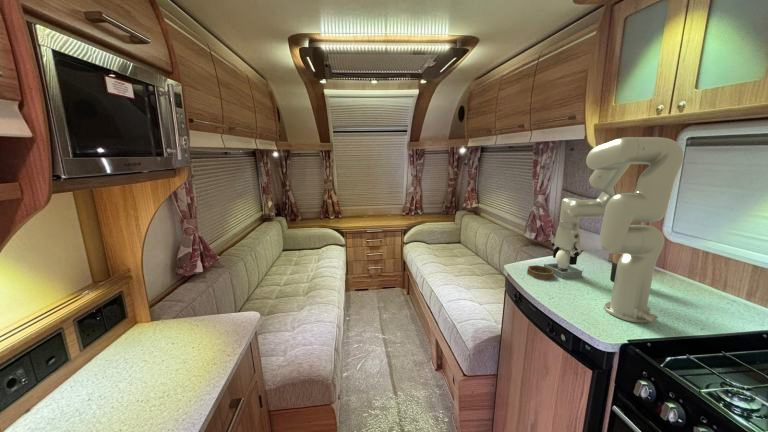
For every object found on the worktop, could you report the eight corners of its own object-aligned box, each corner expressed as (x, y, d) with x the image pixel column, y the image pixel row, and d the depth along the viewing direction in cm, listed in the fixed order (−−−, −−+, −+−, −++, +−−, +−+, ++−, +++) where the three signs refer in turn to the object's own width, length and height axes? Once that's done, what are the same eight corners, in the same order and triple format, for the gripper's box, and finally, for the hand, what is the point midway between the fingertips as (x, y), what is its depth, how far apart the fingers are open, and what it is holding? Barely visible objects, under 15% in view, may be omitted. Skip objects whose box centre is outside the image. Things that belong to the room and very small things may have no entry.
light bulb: (574, 272, 137) (576, 250, 135) (564, 275, 134) (567, 252, 132) (560, 267, 143) (562, 246, 141) (550, 270, 140) (553, 248, 138)
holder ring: (558, 278, 133) (559, 273, 132) (538, 280, 130) (539, 274, 130) (541, 269, 143) (542, 264, 142) (522, 271, 140) (523, 266, 140)
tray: (581, 276, 135) (582, 270, 134) (561, 278, 133) (562, 272, 132) (562, 267, 145) (563, 262, 145) (543, 269, 143) (544, 264, 143)
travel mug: (636, 285, 125) (644, 240, 121) (617, 285, 126) (625, 240, 121) (622, 278, 133) (629, 235, 129) (605, 278, 133) (612, 235, 129)
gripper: (592, 229, 127) (587, 266, 130) (560, 221, 143) (556, 254, 146) (577, 229, 125) (572, 268, 128) (547, 221, 142) (543, 255, 145)
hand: (564, 260), depth 137 cm, fingers open, 9 cm apart
